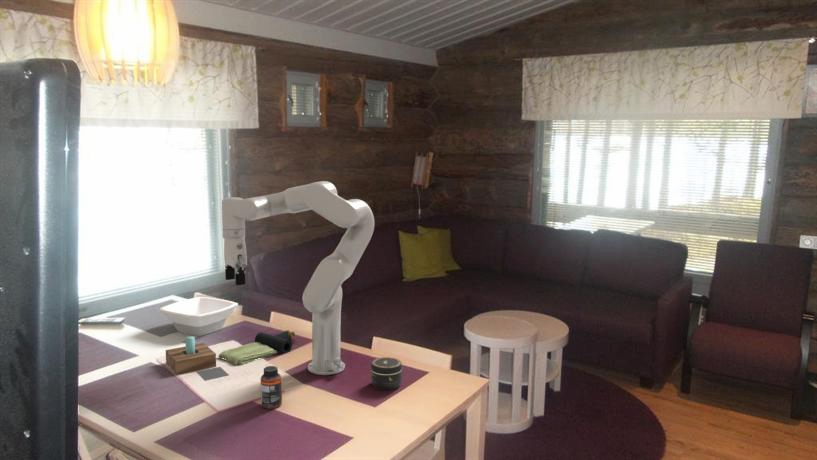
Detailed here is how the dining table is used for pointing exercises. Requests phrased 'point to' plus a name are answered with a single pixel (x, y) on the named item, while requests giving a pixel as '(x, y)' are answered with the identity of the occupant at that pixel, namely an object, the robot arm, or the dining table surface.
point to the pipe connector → (277, 340)
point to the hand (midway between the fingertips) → (235, 282)
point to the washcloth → (247, 353)
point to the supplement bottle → (271, 388)
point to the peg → (190, 345)
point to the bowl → (199, 315)
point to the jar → (386, 373)
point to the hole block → (190, 359)
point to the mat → (212, 373)
